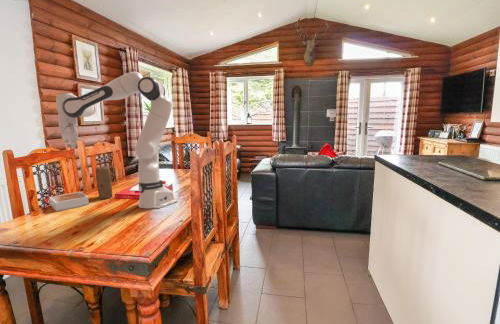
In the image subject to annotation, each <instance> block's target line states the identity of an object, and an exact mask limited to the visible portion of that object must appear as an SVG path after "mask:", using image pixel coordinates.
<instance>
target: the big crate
mask: <svg viewBox="0 0 500 324" xmlns="http://www.w3.org/2000/svg"><path fill="white" fill-rule="evenodd" d="M73 193H78V194H79V195H80V198H77V199H71V200H66V201H61V202H58V199H57V196H62V195H68V194H73ZM48 198H49V205H50V207H51V208H52V209H53V210H54V211H55V212H62V211H66V210H70V209H76V208H80V207H85V205H86V206H89V205H90V202H89V201H90V200H89V196H88V195H87V194H85V193H84V192H82V191H77V192H71V193H64V194H60V195H55V196H49V197H48Z"/></svg>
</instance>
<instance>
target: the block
mask: <svg viewBox="0 0 500 324" xmlns="http://www.w3.org/2000/svg"><path fill="white" fill-rule="evenodd" d="M95 179H96V180H95V181H96V185H97V191H98V197H99V199H101V200H105V199H106V200H107V199H110V198H112V197H113V186H112V185H113V184H112V176H111V170H110V167H109V166H108V165H103V166H98V167H96V168H95Z"/></svg>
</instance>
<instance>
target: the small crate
mask: <svg viewBox="0 0 500 324" xmlns="http://www.w3.org/2000/svg"><path fill="white" fill-rule="evenodd" d="M72 193H73V194H70V193H67V194H68V195H64V194H61V195H62V196H59V195H56V196H57V199H58V202H61V201H66V200H71V199H77V198H80V195H79V194H78V193H75V192H72Z"/></svg>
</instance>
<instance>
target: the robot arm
mask: <svg viewBox="0 0 500 324" xmlns="http://www.w3.org/2000/svg"><path fill="white" fill-rule="evenodd" d="M136 93H140V94H141V95H142V96H143V97H145V98H146V99H147V100H148V101H150V103H151V104H150V105H151V106H150V109H149V110H148V114H147V116H146V119H145V122H144V123H143V124H144V125H143V127H142V129H141V131H140V134H139V136H138V139H137V141H136V142H135V143H136V144H135V146H134V152H135V155H136V156H137V157H138V168H137V170H138V180H139V181H138V191H139V200H138V204H137V205H138V208H140V209H161V208H164V207H166V206H170V205H172V204H176V203H178V202H179V199H178V198H177V197H175V196H174V193H173V191H172V190H171V189H169V188H168V187H165V186H164V185H166V184H167V181H166V180H161V179H160V165H159V164H160V161H159V159H160V157H159V155H160V154H159V146H160V143H161V140H162V138H163V135H164V133H165V131H166V128H167V125H168V122H169V119H170V117H171V113H172V110H173V103H172V101H171V99H170V98H168V97H166V89H165V87H164V85H163V84H161V82H160V81H158V80H157V79H155V78H154V77H151V76H143V75H142V74H141V73H140V72H139V71H131V72H126V73H125V74H122V75H120V76H118V77H116V78H114V79H112V80H111V81H109V82H107V83H106V84H104V85H102V86H100V87H99V88H96V89H94V90H92V91H89V92H86V93H85V94H83V95H80V96H76V95H75V94H73V93H72V92H61V93H58V94H57V95H56V97H55V105H56V107H55V108H56V111H57V113H58V114H57V121H58V122H57V126H58V127H59V131H60V136H61V139H62V140H64V141H65V145H66V148H71V149H74V150H75V149H76V143H77V141H79V134H78V128H77V127H79V124H78V118H86V117H87V118H89V117H90V116H93V115H94V114H95V110H96V107H95V105H97V104H98V103H102V102H106V101H115V100H116V101H119V100H124V99H126V98H129V97H131V96H133V95H134V94H136Z"/></svg>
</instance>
